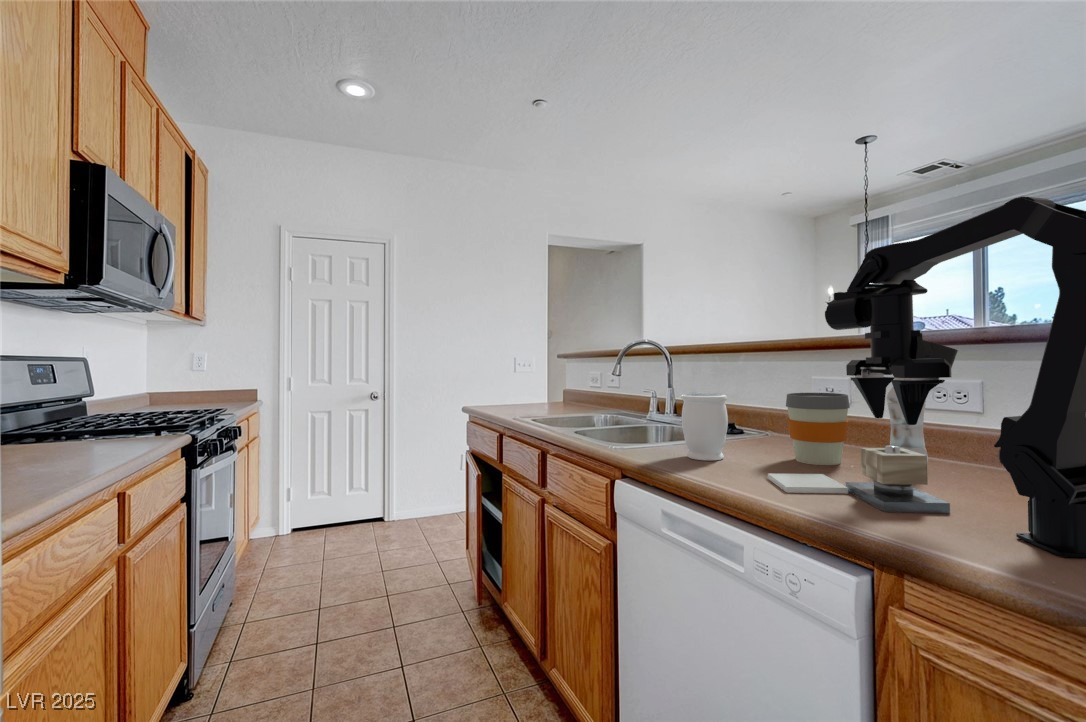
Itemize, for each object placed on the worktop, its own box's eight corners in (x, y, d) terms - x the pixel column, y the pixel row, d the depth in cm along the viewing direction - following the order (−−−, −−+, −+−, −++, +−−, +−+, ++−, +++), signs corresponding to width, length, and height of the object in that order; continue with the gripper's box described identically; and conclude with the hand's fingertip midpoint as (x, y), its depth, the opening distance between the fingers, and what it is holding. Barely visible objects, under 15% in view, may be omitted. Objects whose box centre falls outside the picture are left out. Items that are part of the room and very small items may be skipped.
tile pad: (848, 493, 83) (848, 487, 83) (786, 492, 84) (786, 486, 84) (822, 479, 93) (822, 473, 93) (767, 478, 94) (767, 473, 94)
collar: (927, 484, 75) (927, 455, 75) (882, 484, 75) (882, 455, 75) (902, 474, 81) (902, 448, 81) (861, 474, 82) (860, 447, 82)
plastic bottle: (912, 474, 95) (910, 372, 95) (879, 467, 101) (877, 372, 101) (936, 471, 97) (934, 371, 96) (903, 464, 103) (901, 371, 103)
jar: (673, 455, 119) (672, 394, 118) (709, 452, 122) (708, 392, 122) (700, 463, 108) (698, 397, 108) (738, 460, 111) (737, 395, 111)
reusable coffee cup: (774, 458, 113) (773, 394, 113) (815, 453, 117) (814, 391, 117) (820, 469, 101) (819, 397, 101) (865, 464, 105) (863, 395, 105)
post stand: (950, 513, 72) (948, 454, 72) (884, 511, 73) (883, 453, 73) (901, 491, 84) (900, 440, 84) (845, 490, 85) (844, 440, 85)
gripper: (991, 318, 68) (995, 428, 68) (910, 327, 87) (913, 414, 87) (905, 321, 70) (908, 429, 70) (843, 330, 88) (846, 415, 88)
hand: (894, 421), depth 78 cm, fingers open, 9 cm apart
